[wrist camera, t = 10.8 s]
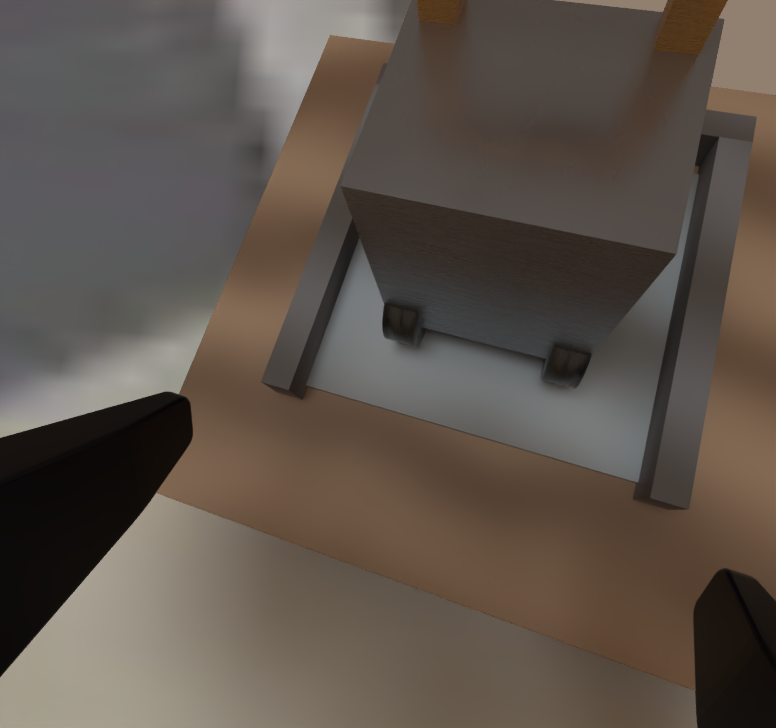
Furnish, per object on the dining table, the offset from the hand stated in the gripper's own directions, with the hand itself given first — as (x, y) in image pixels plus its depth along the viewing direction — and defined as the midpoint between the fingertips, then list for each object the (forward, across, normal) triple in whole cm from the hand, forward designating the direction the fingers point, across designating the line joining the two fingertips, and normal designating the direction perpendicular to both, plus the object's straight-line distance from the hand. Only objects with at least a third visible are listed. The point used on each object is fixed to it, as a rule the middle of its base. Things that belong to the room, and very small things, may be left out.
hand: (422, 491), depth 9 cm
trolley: (+11, 0, 0) cm, 11 cm away
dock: (+13, 0, +2) cm, 13 cm away
